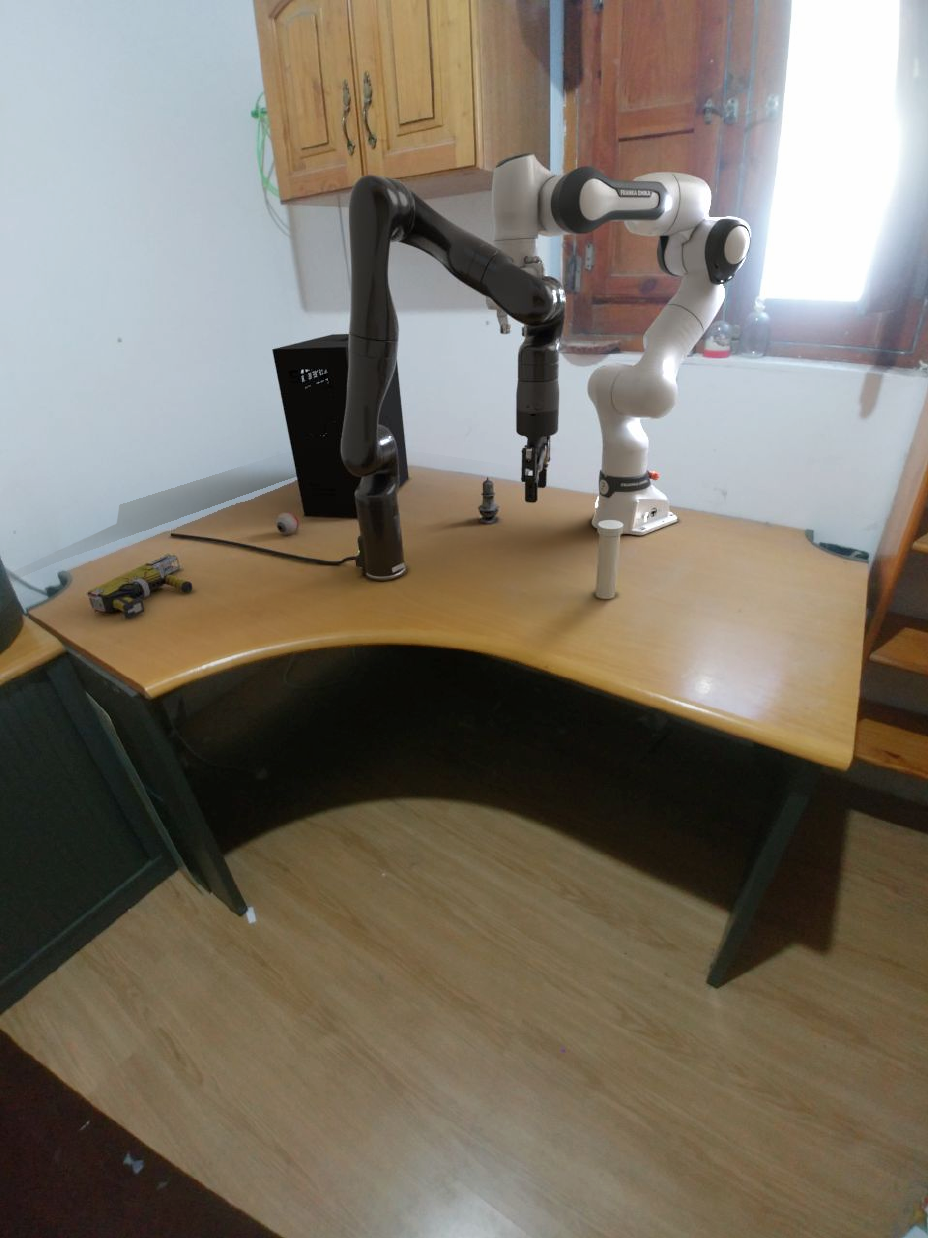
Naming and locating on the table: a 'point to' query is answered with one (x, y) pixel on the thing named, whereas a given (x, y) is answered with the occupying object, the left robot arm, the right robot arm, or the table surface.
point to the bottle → (607, 566)
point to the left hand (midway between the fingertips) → (535, 494)
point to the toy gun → (136, 587)
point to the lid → (610, 528)
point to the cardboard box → (327, 422)
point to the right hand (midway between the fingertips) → (516, 335)
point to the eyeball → (287, 523)
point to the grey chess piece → (488, 504)
